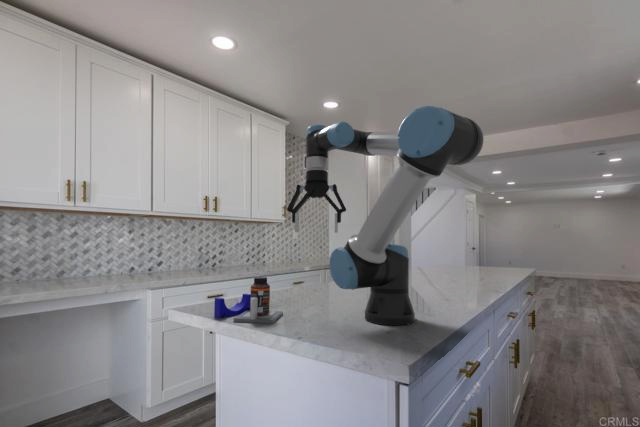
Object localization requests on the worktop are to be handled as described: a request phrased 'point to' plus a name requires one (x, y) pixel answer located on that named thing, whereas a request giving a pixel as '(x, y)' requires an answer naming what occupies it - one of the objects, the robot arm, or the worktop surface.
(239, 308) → the cable clip
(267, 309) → the supplement bottle
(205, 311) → the worktop surface
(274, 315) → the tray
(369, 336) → the worktop surface
